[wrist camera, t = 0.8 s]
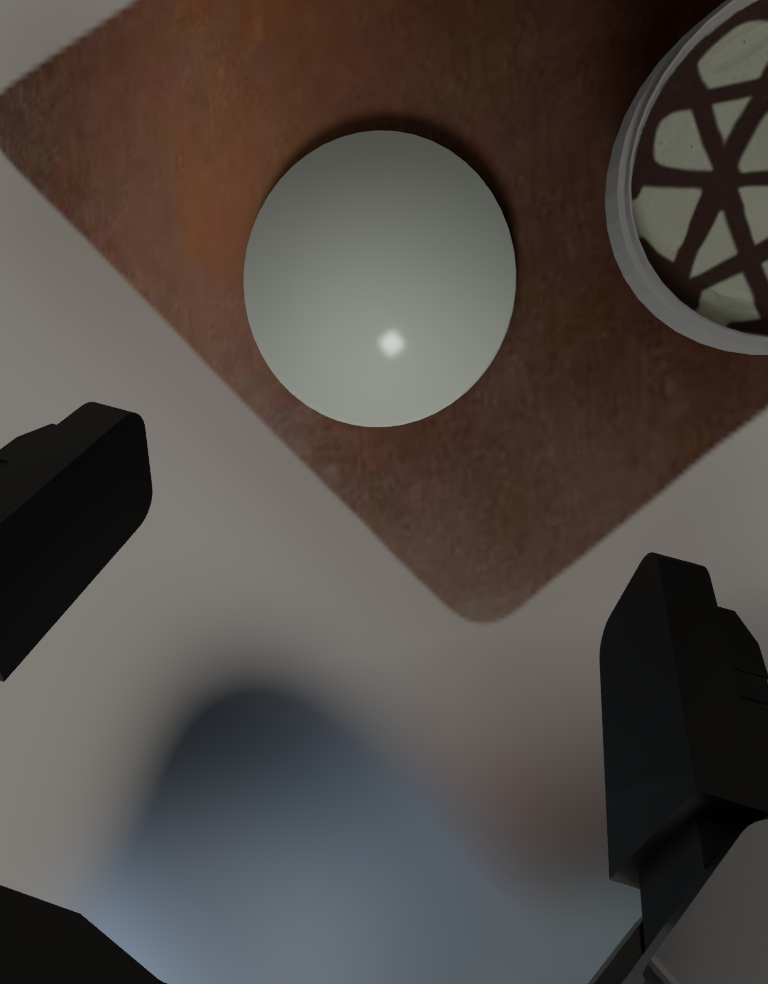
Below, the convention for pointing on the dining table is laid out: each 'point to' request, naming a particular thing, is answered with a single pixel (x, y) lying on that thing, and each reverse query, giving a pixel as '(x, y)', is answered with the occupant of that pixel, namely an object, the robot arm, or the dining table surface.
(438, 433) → the dining table surface
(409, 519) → the dining table surface
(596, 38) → the dining table surface
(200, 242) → the dining table surface
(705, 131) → the food container
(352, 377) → the serving plate
